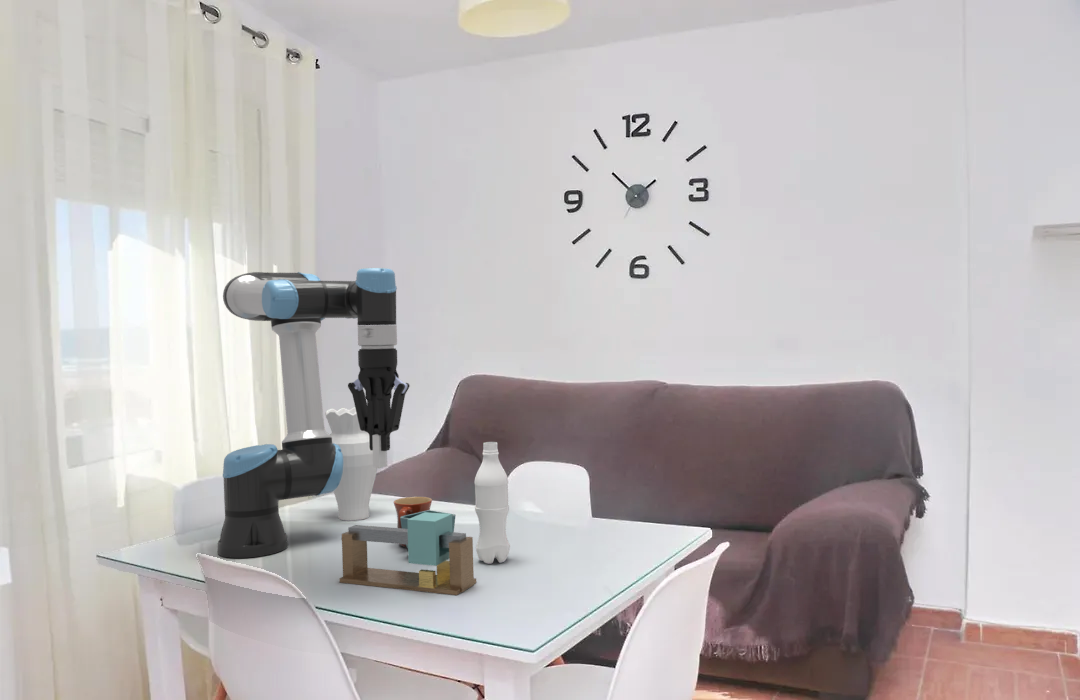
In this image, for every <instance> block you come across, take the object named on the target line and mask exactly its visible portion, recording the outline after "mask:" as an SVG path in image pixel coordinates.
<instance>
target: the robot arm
mask: <svg viewBox="0 0 1080 700" xmlns="http://www.w3.org/2000/svg"><path fill="white" fill-rule="evenodd" d="M397 289H398V288H397V283H396V273H395V271H394V270H393V269H391V268H384V267H382V268H380V267H374V268H373V267H371V268H369V267H368V268H367V267H366V268H360V269H359V268H358V270H357V272H356V280H321V279H320V277H319V276H318V275H316V274H313V273H304V272H299V271H298V272H262V271H261V272H260V271H253V272H252V271H251V272H248V273H247V272H246V273H243V274H239V275H236V276H235V277H234V278H231V279H230V280H229V281H228V282H227V283H226V285H225V287H224V289H223V293H222V298H223V305H224V306H225V309H227V311H229V312H230V313H231V314H232V315H234V316H235V317H238V318H240V319H243V320H248V321H255V322H257V321H258V322H260V321H261V322H270V326H271V331H273V333H275V334H276V335H278V340H279V352H280V362H281V363H280V364H281V365H280V366H281V376H282V384H283V396H284V397H283V399H284V407H285V419H286V428H287V429H286V430H287V434H286V436H285V437H284V439H283V440H282V441H281V449H278V448H277V446H276V445H275V444H272V443H271V444H270V443H269V444H267V443H266V444H260V445H259V444H257V445H251V446H247V447H243V448H238V449H236V450H233V451H231V452H229V453H228V454H227V455H225V457H224V459H223V467H222V468H223V471H222V478H223V497H224V498H223V499H224V500H223V502H224V522H223V524H222V527H221V528H222V529H221V532H220V537H219V540H218V542H217V554H218V555H219V556H220V557H223V558H231V559H242V558H243V559H245V558H247V559H248V558H257V557H263V556H268V555H269V556H270V555H271V554H272V555H273V554H276V553H280V552H282V551H284V550H286V549H287V548H288V545H289V543H288V542H289V541H288V540H289V539H288V535H287V533H286V531H285V528H284V525H283V523H282V519H281V516H280V511H279V501H282V500H291V499H300V498H306V497H314V496H315V497H317V496H318V497H319V496H320V495H324V494H330V493H334V490H335V489H336V488H337V487H338V485H339V483H340V481H341V478H342V473H343V454H342V452H341V448H340V446H339V445H337V444H335V443H333V444H332V436H331V435H330V434H329V433H328V432H327V431H326V429H325V419H324V410H323V399H322V389H321V377H320V366H319V357H318V348H317V336H316V335H317V334H316V333H317V332H318V330H319V329H320V328H321V327H322V321H323V320H326V319H357V346H359V347H360V348H361V349H359V350H357V352H358V353H357V356H358V357H357V358H358V359H357V361H358V362H357V364H358V367H359V372H358V375H357V379H355V380H354V381H353V382H349V383H347V388H348V389H349V391H350V393H351V394H352V398H353V402H354V403H353V404H354V407H355V408H356V413H357V417H358V422H359V426H360V430H362V431H366V432H368V433H369V442H370V443H369V445H370V450H373V468H377V469H378V470H379V469H383V468H385V467H388V451H390V449H391V433H393V432H397V431H398V430H399V429H400V423H401V420H402V419H401V418H402V413H403V409H404V408H403V407H404V403H405V398H406V394H407V392H408V391H409V388H410V387H411V385H410V383H408V382H404V381H403V380H401V379H400V378H399V373H398V371H397V368H398V367H397V366H398V349H397V348H396V347H395V346H397V344H398V333H397V332H398V331H397V330H398V329H397ZM364 390H365V391H364ZM393 390H394V392H392V391H393ZM392 393H393V394H392ZM391 399H392V401H391Z"/></svg>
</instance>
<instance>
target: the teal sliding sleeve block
mask: <svg viewBox="0 0 1080 700" xmlns="http://www.w3.org/2000/svg"><path fill="white" fill-rule="evenodd" d="M444 513H445V512H444ZM444 513H429V512H424V513H422V514H419V515H417V516H415V517H412V518H410V519H407V527H408V548H407V551H408V552H407V554H408V555H407V556H408V557H407V560H408V562H407V563H408V564H414V565H423V566H425V565H426V566H436V567H437V565H439V564H440V563H442V562H444V561H449V548H442V547H439V536H440V535H442V534H444V533H446V532H452V514H453V513H450V514H444Z"/></svg>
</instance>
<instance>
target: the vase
mask: <svg viewBox="0 0 1080 700" xmlns="http://www.w3.org/2000/svg"><path fill="white" fill-rule="evenodd" d="M324 416H325V418H326V421H327V423H328V426H329V429H330V431H331V433H330V434H329V435H331V436H332V444H333V443H335V444H337V445H339V446H340V448H341V452H342V454H343V473H342V478H341V481H340V483H339V485H338V487H337V488H336V489H335V490H334V491H333V494H334V497H335V500H336V503H337V504H336V505H337V509H338V511H337V513H338V516H337V517H338V519H339V520H340V521H345V522H346V521H347V522H351V521H352V522H355V521H361V520H366V519H368V518H369V517H370V501H371V496H372V493H373V488H374V485H375V481H376V477H377V471H378V468H373V450H370V445H369V443H370V442H369V433H368V432H366V431H362V430H360V426H359V422H358V417H357V413H356V408H355V406H354V407H352V408H350V409H348V408H345V407H342V408H340V409H338V410H337V409H335V408H329V409H327V410H326V411H325V413H324Z"/></svg>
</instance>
